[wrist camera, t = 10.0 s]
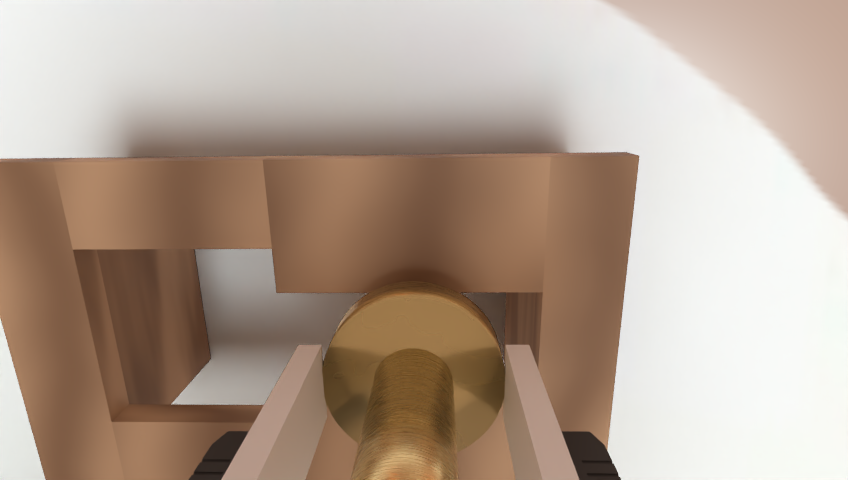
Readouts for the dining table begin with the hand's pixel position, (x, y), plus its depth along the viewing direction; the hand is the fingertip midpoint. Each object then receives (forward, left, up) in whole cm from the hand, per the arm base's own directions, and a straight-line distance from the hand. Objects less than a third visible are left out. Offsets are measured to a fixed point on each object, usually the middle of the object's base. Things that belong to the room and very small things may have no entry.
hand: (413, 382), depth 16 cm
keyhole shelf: (-4, 0, -12) cm, 13 cm away
